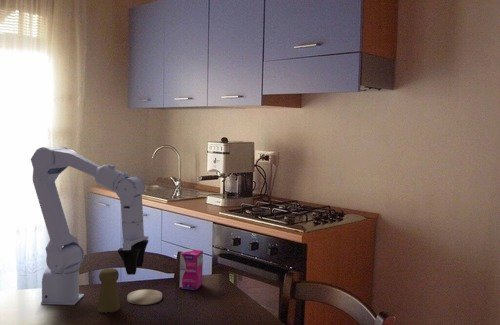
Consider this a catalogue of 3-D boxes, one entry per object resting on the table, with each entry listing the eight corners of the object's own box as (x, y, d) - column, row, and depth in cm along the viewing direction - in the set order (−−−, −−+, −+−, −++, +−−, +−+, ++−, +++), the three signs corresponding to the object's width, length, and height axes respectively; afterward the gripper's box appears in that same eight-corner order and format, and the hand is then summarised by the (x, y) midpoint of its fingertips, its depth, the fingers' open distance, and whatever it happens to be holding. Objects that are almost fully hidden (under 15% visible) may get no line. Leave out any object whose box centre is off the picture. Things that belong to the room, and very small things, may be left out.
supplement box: (178, 289, 147) (179, 253, 146) (185, 283, 153) (186, 248, 152) (196, 291, 146) (197, 254, 145) (202, 285, 151) (203, 250, 151)
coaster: (123, 304, 133) (123, 300, 133) (132, 292, 143) (132, 288, 143) (158, 305, 133) (158, 301, 133) (165, 293, 143) (165, 289, 143)
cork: (113, 313, 126) (113, 273, 125) (92, 311, 127) (93, 271, 126) (123, 305, 132) (124, 267, 131) (104, 303, 133) (104, 265, 132)
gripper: (140, 225, 121) (143, 277, 121) (152, 216, 135) (155, 262, 136) (113, 226, 121) (116, 278, 122) (128, 217, 135) (130, 263, 136)
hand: (135, 270), depth 129 cm, fingers open, 7 cm apart
